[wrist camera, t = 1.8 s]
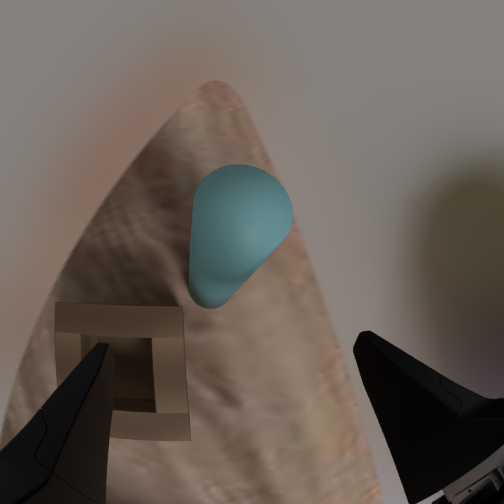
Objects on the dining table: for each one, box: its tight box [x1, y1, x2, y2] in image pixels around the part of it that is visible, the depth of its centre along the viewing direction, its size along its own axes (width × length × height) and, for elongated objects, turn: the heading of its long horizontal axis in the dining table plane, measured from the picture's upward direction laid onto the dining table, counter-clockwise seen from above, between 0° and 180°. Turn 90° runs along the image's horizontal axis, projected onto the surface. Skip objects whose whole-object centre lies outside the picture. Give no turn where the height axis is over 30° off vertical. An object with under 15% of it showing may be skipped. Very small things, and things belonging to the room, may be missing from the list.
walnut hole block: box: [55, 302, 191, 441], centre depth 16 cm, size 8×8×4 cm
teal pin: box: [188, 165, 293, 309], centre depth 15 cm, size 3×3×13 cm
